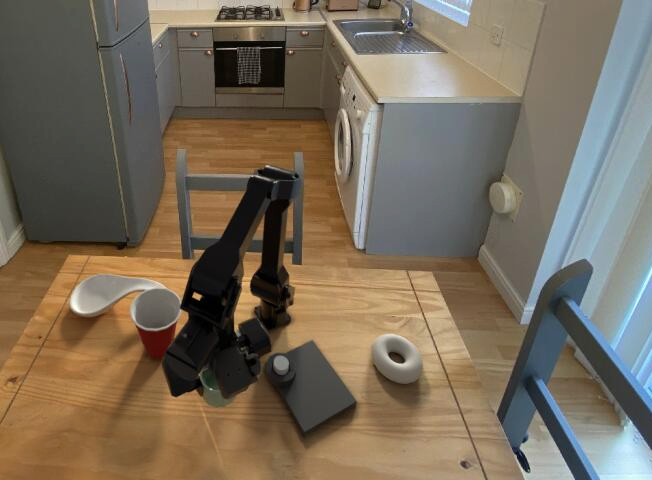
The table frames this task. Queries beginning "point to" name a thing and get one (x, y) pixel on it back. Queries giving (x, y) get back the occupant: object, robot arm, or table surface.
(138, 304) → the plastic cup
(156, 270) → the table surface
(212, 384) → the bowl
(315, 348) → the scale
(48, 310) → the table surface
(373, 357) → the donut
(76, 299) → the spoon rest
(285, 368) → the button
